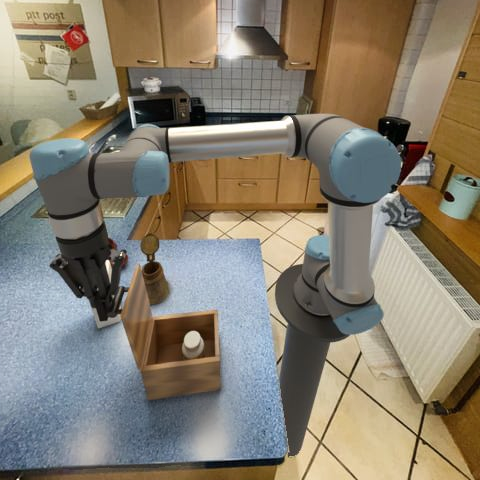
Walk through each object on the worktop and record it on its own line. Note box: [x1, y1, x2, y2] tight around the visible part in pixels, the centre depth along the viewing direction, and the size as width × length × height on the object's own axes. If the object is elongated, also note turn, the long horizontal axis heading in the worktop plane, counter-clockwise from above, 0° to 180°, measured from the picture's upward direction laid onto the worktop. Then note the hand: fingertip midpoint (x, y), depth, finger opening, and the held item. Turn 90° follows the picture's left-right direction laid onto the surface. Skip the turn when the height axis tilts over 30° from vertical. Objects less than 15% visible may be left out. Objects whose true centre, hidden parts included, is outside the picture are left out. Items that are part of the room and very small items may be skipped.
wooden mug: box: [139, 232, 171, 305], centre depth 82 cm, size 9×14×18 cm, turn 17°
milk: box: [87, 259, 122, 329], centre depth 72 cm, size 6×6×22 cm
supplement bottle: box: [182, 331, 205, 361], centre depth 63 cm, size 5×5×10 cm
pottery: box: [108, 237, 129, 270], centre depth 95 cm, size 12×20×4 cm, turn 61°
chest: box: [139, 309, 222, 401], centre depth 62 cm, size 17×12×12 cm
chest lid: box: [107, 263, 153, 371], centre depth 55 cm, size 18×12×5 cm
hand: (105, 314), depth 53 cm, fingers closed
